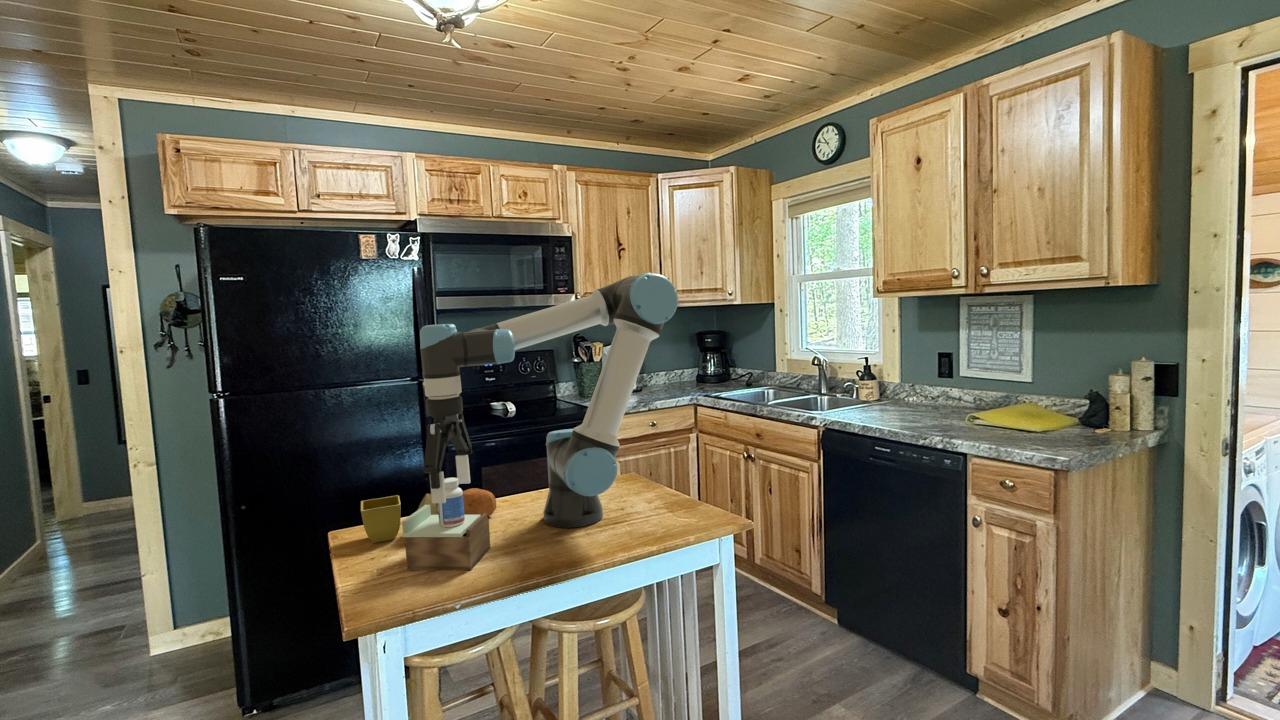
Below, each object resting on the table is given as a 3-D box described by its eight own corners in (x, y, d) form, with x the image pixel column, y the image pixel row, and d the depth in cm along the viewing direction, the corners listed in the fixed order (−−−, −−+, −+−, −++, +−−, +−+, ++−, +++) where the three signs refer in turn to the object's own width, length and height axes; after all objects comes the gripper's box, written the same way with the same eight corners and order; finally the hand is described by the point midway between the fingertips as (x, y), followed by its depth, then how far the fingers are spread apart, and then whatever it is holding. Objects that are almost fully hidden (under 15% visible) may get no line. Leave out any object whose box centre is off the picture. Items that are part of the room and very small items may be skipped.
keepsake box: (490, 548, 144) (488, 512, 143) (471, 570, 132) (468, 531, 131) (431, 548, 145) (429, 512, 144) (407, 569, 133) (404, 531, 132)
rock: (451, 531, 149) (453, 513, 158) (425, 507, 146) (429, 489, 156) (415, 561, 148) (419, 540, 158) (388, 537, 146) (395, 518, 155)
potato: (468, 525, 159) (466, 496, 159) (449, 515, 168) (447, 488, 167) (500, 516, 165) (499, 488, 165) (481, 507, 174) (479, 480, 173)
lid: (480, 518, 143) (479, 503, 143) (460, 537, 131) (459, 521, 131) (427, 518, 144) (426, 504, 144) (402, 537, 133) (401, 522, 132)
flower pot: (363, 548, 147) (360, 510, 146) (363, 536, 155) (360, 500, 154) (403, 541, 150) (400, 504, 150) (401, 529, 158) (399, 494, 158)
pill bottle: (470, 521, 138) (467, 478, 138) (451, 529, 134) (447, 484, 133) (453, 517, 141) (450, 475, 141) (433, 525, 137) (430, 481, 136)
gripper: (450, 388, 148) (458, 476, 150) (398, 407, 123) (409, 512, 125) (481, 387, 147) (488, 475, 149) (435, 405, 122) (445, 511, 124)
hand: (452, 492), depth 137 cm, fingers open, 13 cm apart
